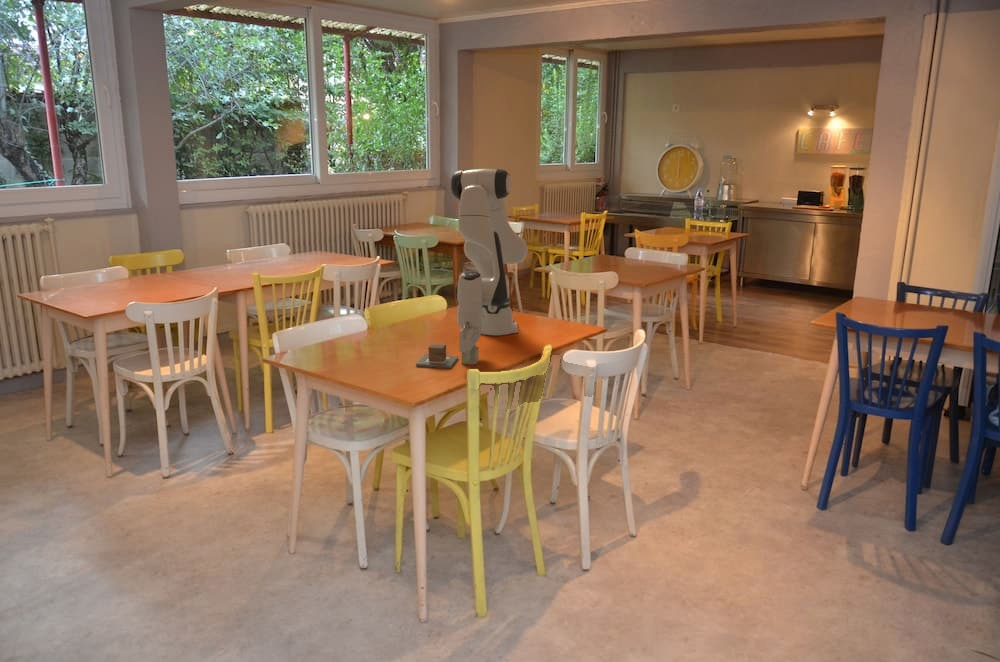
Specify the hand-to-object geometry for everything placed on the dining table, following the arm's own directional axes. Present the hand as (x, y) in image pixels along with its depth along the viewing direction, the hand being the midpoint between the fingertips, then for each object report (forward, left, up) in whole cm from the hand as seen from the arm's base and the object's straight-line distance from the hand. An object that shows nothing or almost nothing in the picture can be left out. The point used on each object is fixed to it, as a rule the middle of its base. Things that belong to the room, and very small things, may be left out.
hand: (470, 357), depth 273 cm
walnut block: (+3, -11, 0) cm, 11 cm away
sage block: (0, 0, -2) cm, 2 cm away
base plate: (+3, -11, -2) cm, 12 cm away
